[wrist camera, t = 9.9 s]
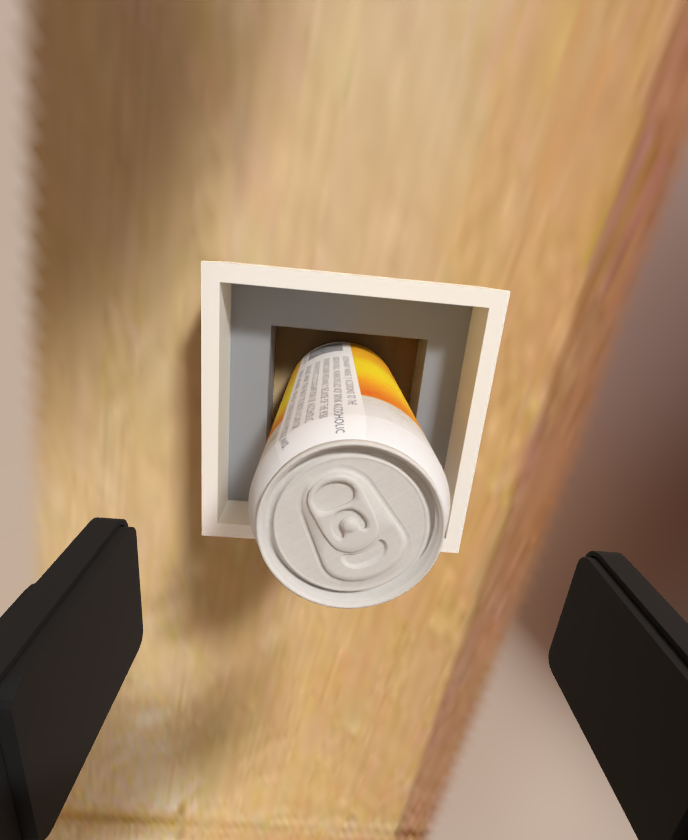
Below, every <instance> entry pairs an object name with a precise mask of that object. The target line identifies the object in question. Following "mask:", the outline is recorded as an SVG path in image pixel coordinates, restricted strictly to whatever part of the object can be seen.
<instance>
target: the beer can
mask: <svg viewBox="0 0 688 840" xmlns="http://www.w3.org/2000/svg"><path fill="white" fill-rule="evenodd" d="M449 514H450V492H449V486H448V482H447V479H446V475H445V473H444V471H443V469H442V466H441V464H440V462H439V461H438V459H437V457H436V455H435V453H434V451H433V450H432V448H431V446H430V444H429V442H428V440H427V438H426V437H425V435H424V433H423V431H422V429H421V427H420V425H419V424H418V422H417V420H416V418H415V416H414V414H413V413H412V411H411V409H410V407H409V405H408V403H407V401H406V400H405V398H404V396H403V394H402V392H401V390H400V389H399V387H398V385H397V383H396V381H395V379H394V377H393V376H392V374H391V372H390V370H389V368H388V367H387V365H386V364H385V362H384V361H383V360H382V359H381V358H380V357H379V356H378V355H377V354H376V353H375V352H373V351H372V350H370V349H369V348H367V347H365V346H362V345H360V344H356V343H352V342H343V341H342V342H331V343H327V344H324V345H321V346H319V347H317V348H315V349H313V350H311V351H310V352H309V353H307V354H306V355H305V356H304V357H303V358H302V359H301V360H300V361H299V362H298V364H297V365H296V367H295V368H294V370H293V372H292V375H291V377H290V380H289V383H288V385H287V388H286V391H285V393H284V396H283V399H282V402H281V404H280V407H279V410H278V412H277V415H276V418H275V420H274V423H273V426H272V429H271V431H270V434H269V437H268V439H267V442H266V445H265V447H264V450H263V453H262V456H261V458H260V461H259V464H258V466H257V469H256V472H255V474H254V477H253V480H252V483H251V487H250V491H249V499H248V515H249V520H250V526H251V529H252V532H253V535H254V537H255V539H256V542H257V544H258V546H259V549H260V553H261V555H262V557H263V559H264V562H265V563H266V565H267V567H268V568H269V570H270V571H271V572H272V574H273V575H274V576H275V577H276V578H277V579H278V580H279V581H280V582H281V583H282V584H283V585H284V586H285V587H286V588H288V589H289V590H290V591H292V592H293V593H295V594H297V595H298V596H300V597H302V598H304V599H306V600H308V601H311V602H314V603H316V604H320V605H324V606H328V607H334V608H346V609H350V608H363V607H370V606H374V605H378V604H381V603H384V602H387V601H390V600H392V599H394V598H396V597H398V596H400V595H402V594H404V593H405V592H407V591H408V590H410V589H411V588H412V587H414V586H415V585H416V584H417V583H418V582H419V581H420V580H422V579H423V577H424V576H425V575H426V574H427V573H428V572H429V570H430V569H431V567H432V566H433V565H434V563H435V561H436V559H437V557H438V555H439V553H440V550H441V548H442V545H443V541H444V536H445V530H446V528H447V524H448V520H449Z"/></svg>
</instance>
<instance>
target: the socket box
mask: <svg viewBox="0 0 688 840" xmlns="http://www.w3.org/2000/svg"><path fill="white" fill-rule="evenodd" d="M509 296H510V291H506V290H499V289H493V288H486V287H480V286H470V285H460V284H450V283H440V282H430V281H420V280H409V279H399V278H389V277H379V276H369V275H358V274H348V273H338V272H328V271H318V270H308V269H297V268H287V267H277V266H267V265H257V264H247V263H236V262H226V261H201V424H202V535H204V536H218V537H233V538H248V539H255V537H254V535H253V532H252V529H251V526H250V520H249V515H248V499H249V491H250V487H251V483H252V480H253V477H254V474H255V472H256V469H257V466H258V464H259V461H260V458H261V456H262V453H263V450H264V447H265V445H266V442H267V439H268V437H269V434H270V431H271V428H272V408H273V387H274V366H275V345H276V326H283V327H294V328H305V329H316V330H327V331H338V332H349V333H360V334H371V335H381V336H392V337H403V338H414V339H418V346H417V353H416V360H415V367H414V374H413V381H412V388H411V395H410V402H409V407H410V409H411V411H412V413H413V414H414V416H415V418H416V420H417V422H418V424H419V425H420V427H421V429H422V431H423V433H424V435H425V437H426V438H427V440H428V442H429V444H430V446H431V448H432V450H433V451H434V453H435V455H436V457H437V459H438V461H439V462H440V464H441V466H442V469H443V471H444V473H445V475H446V479H447V482H448V486H449V492H450V514H449V520H448V524H447V528H446V530H445V536H444V541H443V545H442V548H441V550H440V552H452V553H458V552H459V547H460V542H461V537H462V532H463V527H464V522H465V517H466V512H467V507H468V502H469V497H470V492H471V487H472V482H473V477H474V471H475V466H476V461H477V456H478V451H479V446H480V441H481V436H482V431H483V426H484V421H485V416H486V411H487V406H488V401H489V396H490V391H491V386H492V381H493V376H494V371H495V366H496V361H497V356H498V351H499V346H500V341H501V336H502V331H503V326H504V321H505V316H506V311H507V306H508V301H509Z"/></svg>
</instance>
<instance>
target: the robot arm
mask: <svg viewBox="0 0 688 840" xmlns="http://www.w3.org/2000/svg"><path fill="white" fill-rule="evenodd" d="M142 636H143V621H142V607H141V593H140V579H139V564H138V550H137V536H136V530H135V528H134V527H128V524H127V522H126V520H124V519H112V518H94V519H92V520H91V521H90V522H89V523H88V524H87V526H86V527H85V528H84V529H83V530H82V531H81V532H80V534H79V535H78V536H77V537H76V538H75V539H74V540H73V541H72V543H71V544H70V545H69V546H68V547H67V548H66V549H65V551H64V552H63V553H62V554H61V555H60V556H59V557H58V558H57V560H56V561H55V562H54V563H53V564H52V565H51V566H50V568H49V569H48V570H47V571H46V572H45V573H44V574H43V575H42V577H41V578H40V579H39V580H38V581H37V582H36V583H34V584H32V585H30V586H29V587H28V588H27V589H26V590H25V591H24V592H23V593H22V594H21V595H20V596H19V597H18V598H17V600H16V601H15V602H14V603H13V604H12V605H11V606H10V607H9V609H8V610H7V611H6V612H5V613H4V614H3V615H2V616H1V617H0V840H45V839H46V838H47V837H48V835H49V834H50V832H51V830H52V828H53V827H54V824H55V822H56V820H57V818H58V816H59V814H60V812H61V810H62V808H63V806H64V804H65V802H66V800H67V797H68V795H69V793H70V791H71V789H72V787H73V785H74V783H75V781H76V779H77V777H78V775H79V773H80V770H81V768H82V766H83V764H84V762H85V760H86V758H87V756H88V754H89V752H90V750H91V748H92V746H93V743H94V741H95V739H96V737H97V735H98V733H99V731H100V729H101V727H102V725H103V723H104V721H105V719H106V716H107V714H108V712H109V710H110V708H111V706H112V704H113V702H114V700H115V698H116V696H117V694H118V692H119V689H120V687H121V685H122V683H123V681H124V679H125V677H126V675H127V673H128V671H129V669H130V667H131V665H132V662H133V660H134V658H135V656H136V654H137V652H138V650H139V647H140V645H141V641H142ZM549 664H550V668H551V671H552V673H553V675H554V677H555V679H556V681H557V683H558V685H559V687H560V688H561V690H562V692H563V694H564V696H565V698H566V700H567V702H568V704H569V706H570V708H571V710H572V712H573V714H574V716H575V718H576V719H577V721H578V723H579V725H580V727H581V729H582V731H583V733H584V735H585V737H586V739H587V741H588V742H589V744H590V746H591V749H592V750H593V752H594V754H595V756H596V758H597V760H598V762H599V764H600V766H601V768H602V770H603V772H604V773H605V776H606V777H607V780H608V781H609V783H610V785H611V787H612V789H613V791H614V793H615V795H616V797H617V799H618V801H619V803H620V804H621V807H622V809H623V810H624V812H625V814H626V816H627V818H628V820H629V822H630V824H631V826H632V828H633V830H634V832H635V834H636V836H637V838H638V840H688V623H687V622H686V621H685V620H684V619H683V618H682V617H681V616H680V615H679V614H678V613H677V612H676V611H675V610H674V608H673V607H672V606H671V605H670V604H669V603H668V602H667V601H666V600H665V599H664V598H663V597H662V596H661V595H660V594H659V593H658V592H657V590H656V589H655V588H654V587H653V586H652V585H651V584H650V583H649V582H648V581H647V580H646V579H645V578H644V577H643V576H642V575H641V573H639V571H638V570H637V569H636V568H635V567H634V566H633V565H632V564H631V563H630V562H629V561H628V560H627V559H626V558H625V557H624V556H623V555H622V554H620V553H617V552H602V551H591V552H589V553H588V554H587V555H586V557H583V558H581V559H580V560H579V562H578V564H577V567H576V570H575V573H574V576H573V579H572V582H571V585H570V589H569V592H568V595H567V598H566V601H565V604H564V607H563V610H562V614H561V616H560V619H559V622H558V626H557V629H556V632H555V635H554V638H553V641H552V644H551V647H550V650H549Z"/></svg>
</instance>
